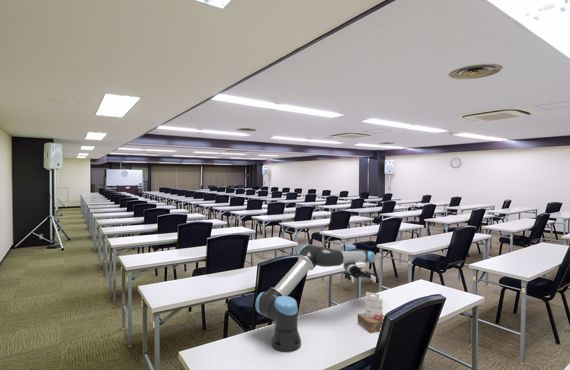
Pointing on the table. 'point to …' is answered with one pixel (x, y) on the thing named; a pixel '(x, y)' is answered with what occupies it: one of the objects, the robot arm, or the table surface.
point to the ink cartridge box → (373, 306)
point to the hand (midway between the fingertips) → (364, 280)
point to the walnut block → (369, 323)
